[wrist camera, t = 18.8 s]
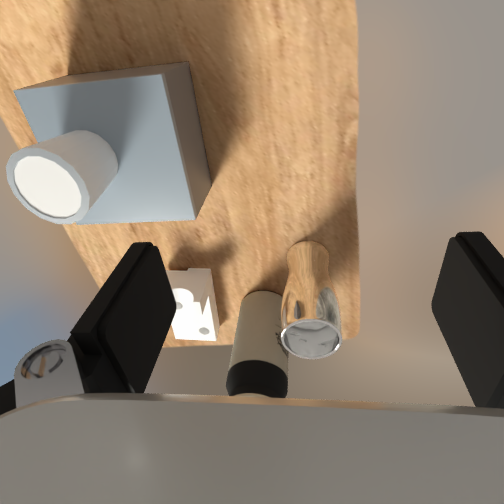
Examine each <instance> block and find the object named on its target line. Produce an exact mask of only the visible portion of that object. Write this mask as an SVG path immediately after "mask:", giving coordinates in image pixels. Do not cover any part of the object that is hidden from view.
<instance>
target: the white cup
mask: <svg viewBox="0 0 504 504" xmlns="http://www.w3.org/2000/svg"><path fill="white" fill-rule="evenodd" d="M6 170H7V181H8V183H9V185H10V187H11V189H12V191H13V193H14V195H15V196H16V197H17V198H18V200H19V201H20V202H21V203H22V204H23V205H24V206H25V207H26V208H27V209H28V210H30V211H31V212H33V213H34V214H35V215H37V216H38V217H40V218H42V219H45V220H47V221H50V222H53V223H56V224H72V223H74V222H77V221H79V220H82V219H83V217H84V216H85V215H86V213H87V212H88V211H89V210H90V208H91V207H92V206H93V205H94V203H95V202H96V201H97V200H98V198H99V197H100V196H101V194H102V193H103V192H104V191H105V189H106V188H107V187H108V186H109V184H110V183H111V182H112V180H113V179H114V178H115V176H116V175H117V171H118V161H117V158H116V154H115V152H114V151H113V149H112V148H111V146H110V145H109V143H107V142H106V141H105V140H104V139H103V138H101V137H100V136H99V135H97V134H95V133H92V132H90V131H87V130H75V131H72V132H69V133H66V134H63V135H60V136H57V137H54V138H51V139H48V140H45V141H42V142H40V143H37V144H34V145H31V146H28V147H25V148H22V149H21V150H19V151H17V152H15V153H13V154H12V155H11V157H10V159H9V161H8V163H7V165H6Z"/></svg>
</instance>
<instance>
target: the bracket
mask: <svg viewBox="0 0 504 504" xmlns="http://www.w3.org/2000/svg"><path fill="white" fill-rule="evenodd" d="M166 273H167V276H168V279H169V282H170V285H171V288H172V291H173V294H174V297H175V301H176V306H177V307H176V313H175V316H174V318H173V321H172V323H171V324H172V327H173V331H174V335H175V338H176V339H188V340H208V341H216V340H217V336H218V332H219V328H220V324H219V318H218V311H217V305H216V299H215V292H214V286H213V280H212V274H211V269H206V268H188V270H187V271H177V270H166Z"/></svg>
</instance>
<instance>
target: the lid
mask: <svg viewBox="0 0 504 504" xmlns="http://www.w3.org/2000/svg"><path fill="white" fill-rule="evenodd" d="M14 93H15V96H16V98H17V100H18V102H19V104H20V106H21V108H22V110H23V112H24V114H25V117H26V119H27V121H28V123H29V125H30V127H31V129H32V131H33V133H34V135H35V138H36V140H37V142H38V143H40V142H42V141H45V140H48V139H51V138H54V137H57V136H60V135H63V134H66V133H69V132H72V131H75V130H87V131H90V132H92V133H95V134H97V135H99V136H100V137H101V138H103V139H104V140H105V141H106V142H107V143H109V145H110V146H111V148H112V149H113V151H114V152H115V154H116V158H117V161H118V171H117V175H116V176H115V178H114V179H113V180H112V182H111V183H110V184H109V186H108V187H107V188H106V189H105V191H104V192H103V193H102V194H101V196H100V197H99V198H98V200H97V201H96V202H95V203H94V205H93V206H92V207H91V208H90V210H89V211H88V212H87V213H86V215H85V216H84V217H83V219H82V220H79V221H77V222H76V224H77V225H83V224H107V223H131V222H155V221H180V220H196V218H197V213H196V208H195V204H194V200H193V195H192V191H191V187H190V182H189V178H188V174H187V169H186V165H185V161H184V156H183V152H182V148H181V143H180V139H179V135H178V130H177V126H176V122H175V117H174V113H173V109H172V104H171V100H170V96H169V91H168V87H167V83H166V79H165V74H164V73H158V74H149V75H140V76H131V77H122V78H113V79H104V80H95V81H86V82H77V83H68V84H59V85H50V86H41V87H32V88H23V89H17V90H14Z"/></svg>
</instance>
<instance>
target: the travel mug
mask: <svg viewBox="0 0 504 504" xmlns="http://www.w3.org/2000/svg"><path fill="white" fill-rule="evenodd" d="M281 300H282V297H281V296H280V295H278V294H276V293H273V292H269V291H257V292H253V293H250V294H249V295H247V296H246V297H245V298H244V299H243V300H242V302H241V307H240V312H239V318H238V323H237V328H236V334H235V339H234V344H233V350H232V355H231V360H230V366H229V371H228V376H227V382H226V388H227V391H228V394H229V396H240V397H266V398H285V397H286V395H287V388H288V387H287V386H288V351H287V350H286V349H285V348H284V347H283V345H282V343H281V326H280V308H281Z"/></svg>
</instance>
